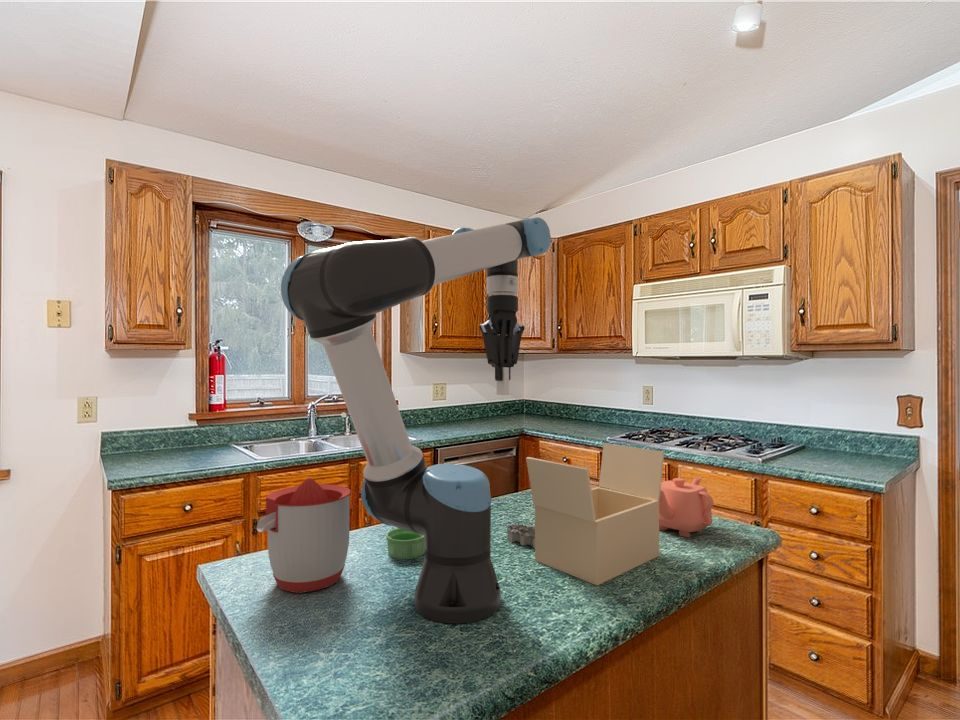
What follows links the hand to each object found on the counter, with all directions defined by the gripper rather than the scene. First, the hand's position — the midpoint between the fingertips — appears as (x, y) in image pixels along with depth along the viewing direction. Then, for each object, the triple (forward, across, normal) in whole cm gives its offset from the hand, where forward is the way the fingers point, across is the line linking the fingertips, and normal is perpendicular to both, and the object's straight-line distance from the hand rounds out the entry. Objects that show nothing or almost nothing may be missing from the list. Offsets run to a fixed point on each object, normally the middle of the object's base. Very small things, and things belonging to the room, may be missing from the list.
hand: (502, 394), depth 122 cm
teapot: (+35, +38, -24) cm, 57 cm away
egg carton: (+35, +4, -5) cm, 35 cm away
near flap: (+17, -5, -22) cm, 28 cm away
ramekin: (+35, -22, +8) cm, 42 cm away
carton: (+34, +7, -22) cm, 41 cm away
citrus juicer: (+35, -45, +8) cm, 57 cm away
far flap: (+17, +19, -22) cm, 34 cm away
